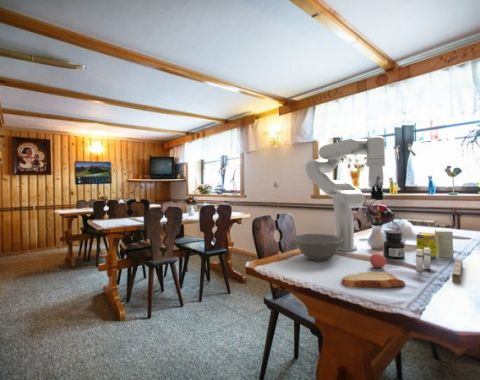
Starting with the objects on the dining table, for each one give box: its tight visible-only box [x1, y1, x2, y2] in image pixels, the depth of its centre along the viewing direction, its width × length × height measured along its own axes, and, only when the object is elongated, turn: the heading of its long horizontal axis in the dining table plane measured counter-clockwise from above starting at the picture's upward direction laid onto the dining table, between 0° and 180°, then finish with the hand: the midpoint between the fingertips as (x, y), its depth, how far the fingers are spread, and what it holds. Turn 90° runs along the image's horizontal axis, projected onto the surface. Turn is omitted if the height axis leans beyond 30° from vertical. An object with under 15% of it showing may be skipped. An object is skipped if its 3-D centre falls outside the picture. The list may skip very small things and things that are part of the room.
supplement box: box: [415, 232, 437, 260], centre depth 127 cm, size 6×6×11 cm
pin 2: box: [423, 248, 432, 270], centre depth 110 cm, size 2×2×8 cm
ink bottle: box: [382, 230, 406, 260], centre depth 129 cm, size 10×9×12 cm
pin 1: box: [415, 248, 424, 273], centre depth 108 cm, size 2×2×8 cm
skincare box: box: [434, 229, 454, 259], centre depth 128 cm, size 6×4×12 cm
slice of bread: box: [340, 271, 406, 289], centre depth 96 cm, size 18×18×4 cm
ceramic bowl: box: [293, 233, 343, 262], centre depth 129 cm, size 22×23×10 cm
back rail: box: [451, 258, 463, 284], centre depth 104 cm, size 24×2×3 cm, turn 139°
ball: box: [369, 252, 387, 269], centre depth 114 cm, size 6×6×6 cm
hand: (376, 199), depth 127 cm, fingers open, 9 cm apart
